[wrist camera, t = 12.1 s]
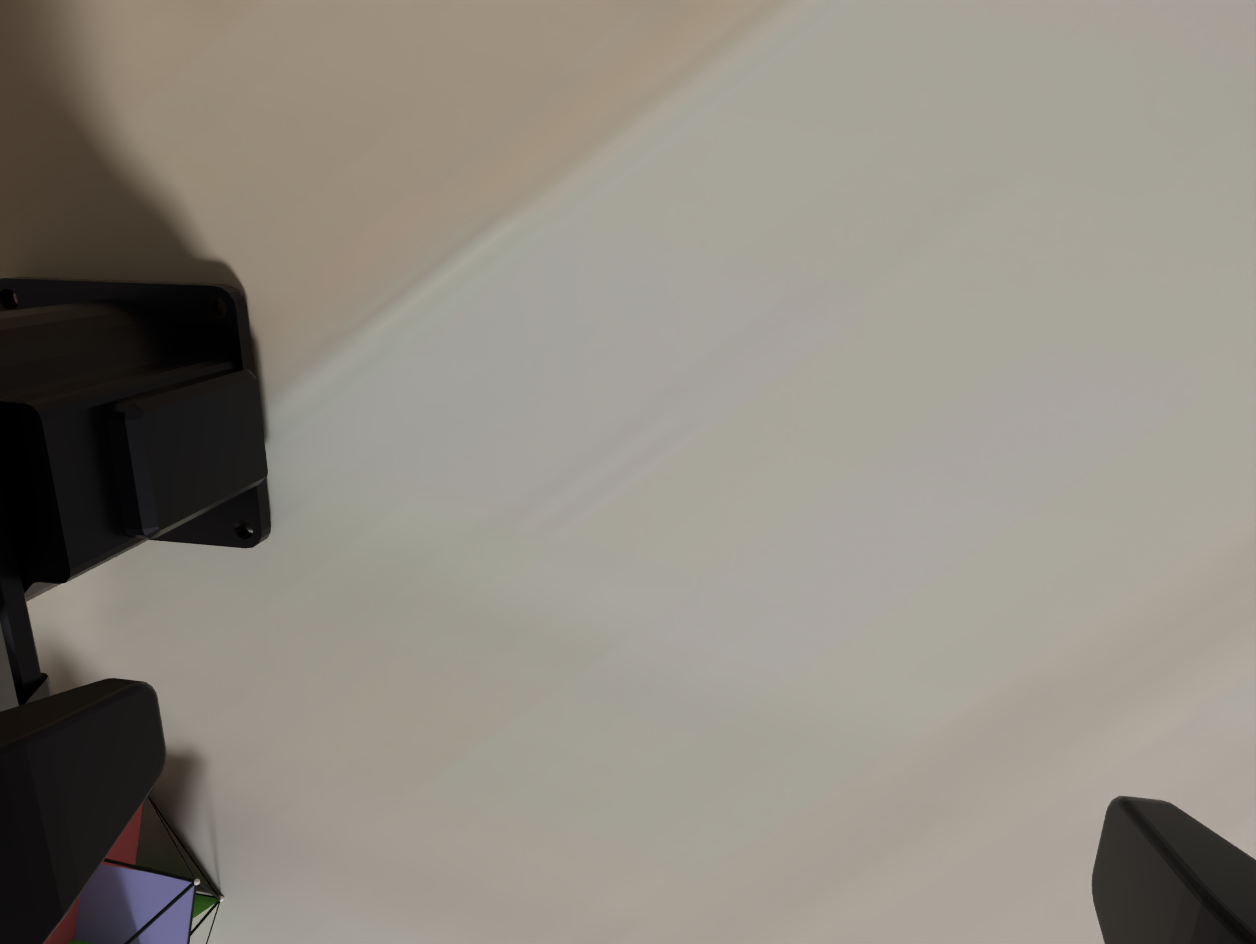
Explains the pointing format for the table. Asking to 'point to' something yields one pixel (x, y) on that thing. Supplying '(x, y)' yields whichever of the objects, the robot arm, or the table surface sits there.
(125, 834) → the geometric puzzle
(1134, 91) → the table surface
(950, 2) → the table surface
